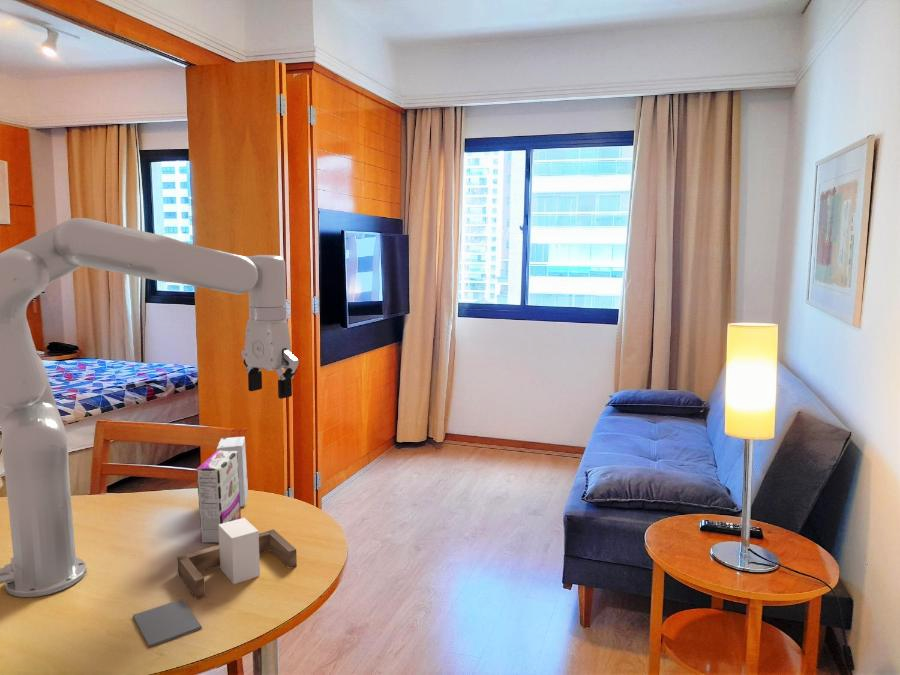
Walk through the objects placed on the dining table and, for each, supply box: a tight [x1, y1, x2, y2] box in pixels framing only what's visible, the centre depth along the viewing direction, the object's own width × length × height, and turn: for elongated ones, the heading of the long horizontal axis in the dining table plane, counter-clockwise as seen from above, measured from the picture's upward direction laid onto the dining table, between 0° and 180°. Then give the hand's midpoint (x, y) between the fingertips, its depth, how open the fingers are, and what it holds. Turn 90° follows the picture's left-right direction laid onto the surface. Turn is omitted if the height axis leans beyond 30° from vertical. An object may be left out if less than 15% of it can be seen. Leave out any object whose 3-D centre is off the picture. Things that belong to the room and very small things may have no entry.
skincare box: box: [216, 436, 249, 508], centre depth 153 cm, size 8×6×15 cm
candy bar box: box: [196, 450, 242, 544], centre depth 137 cm, size 11×5×16 cm, turn 179°
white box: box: [218, 517, 261, 585], centre depth 121 cm, size 5×7×9 cm
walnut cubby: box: [176, 529, 298, 600], centre depth 122 cm, size 19×10×4 cm, turn 129°
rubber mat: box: [132, 598, 203, 648], centre depth 106 cm, size 8×10×1 cm
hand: (270, 393), depth 138 cm, fingers open, 9 cm apart
